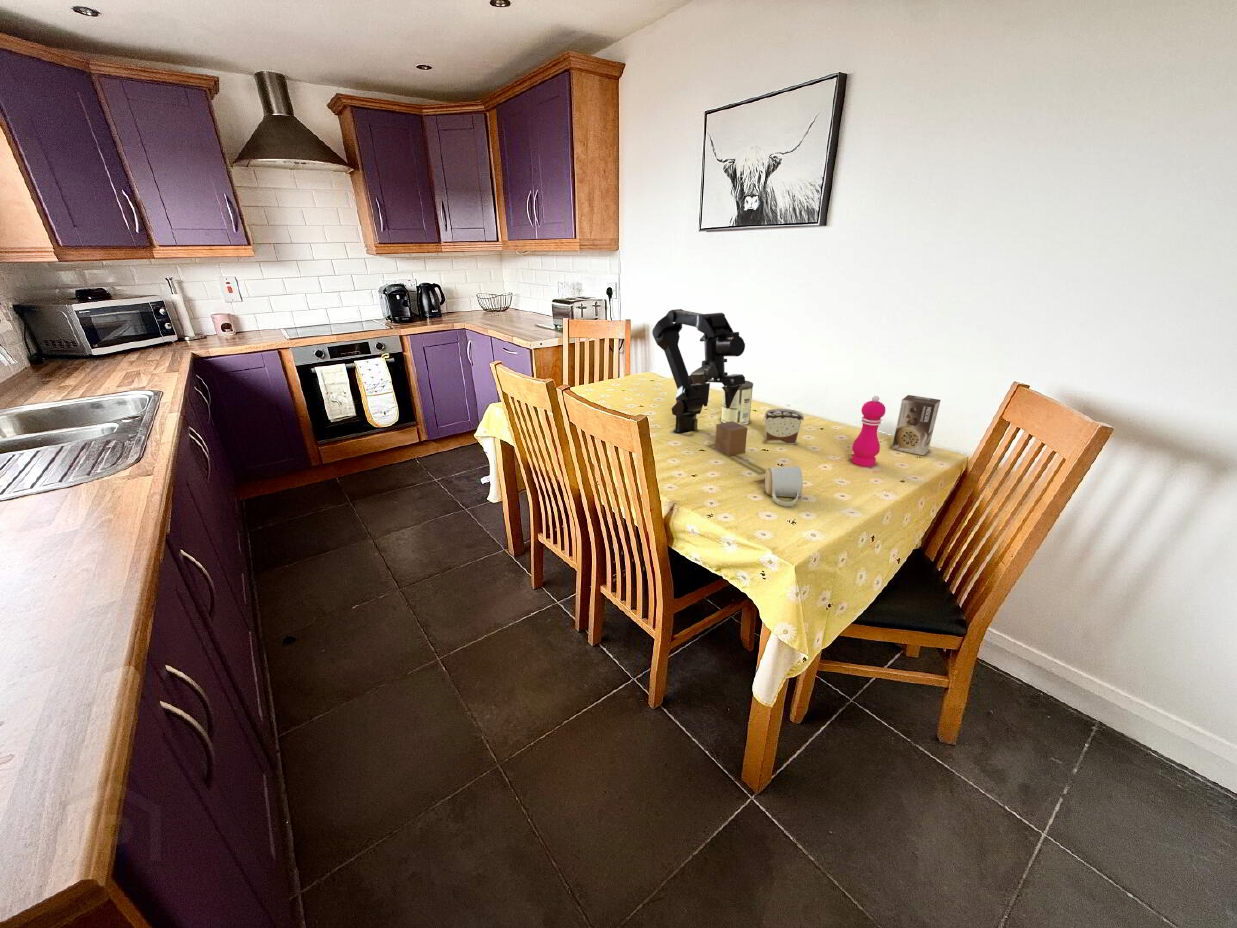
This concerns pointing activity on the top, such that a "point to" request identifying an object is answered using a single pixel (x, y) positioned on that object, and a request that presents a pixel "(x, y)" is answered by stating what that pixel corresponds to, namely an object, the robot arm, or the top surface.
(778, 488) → the ceramic mug
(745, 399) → the coffee can
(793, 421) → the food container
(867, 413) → the pepper mill
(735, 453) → the walnut slider
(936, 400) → the coffee box
